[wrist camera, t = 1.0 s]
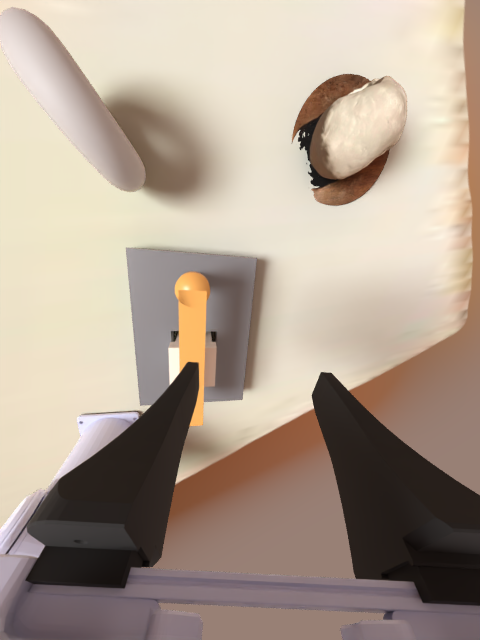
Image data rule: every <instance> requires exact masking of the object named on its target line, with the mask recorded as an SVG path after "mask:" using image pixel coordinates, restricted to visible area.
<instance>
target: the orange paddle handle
mask: <svg viewBox="0 0 480 640" xmlns="http://www.w3.org/2000/svg"><path fill="white" fill-rule="evenodd" d="M175 295H176V297H177V299H178V300H179V366H180V372H181V370H182V369H183V367H184V366H185V364H186V363H187V362H199V392H198V397H197V402H196V406H195V409H194V413H193V416H192V419H191V423H190V426H198V425H203V402H204V368H205V334H206V301H207V300H208V298H209V296H210V286H209V282H208V280H207V278H206V277H205V276H204V275H202V274H201V273H199V272H195V271H190V272H186V273H184V274H183V275H182V276H181V277H180V278H179V279H178V280H177V282H176V285H175Z"/></svg>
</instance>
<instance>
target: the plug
mask: <svg viewBox="0 0 480 640" xmlns="http://www.w3.org/2000/svg"><path fill="white" fill-rule="evenodd" d="M168 350H169V380H170V384H171V383H172V382H173V381H174V380H175V378H176V377H177V376H178V374H179V373H180V366H179V331H178V334H177V338H176V341H175V342H170V345H169V348H168ZM216 352H217V346H216V342H212V338H211V331H206V334H205V368H204V387H213V386H215V372H216Z"/></svg>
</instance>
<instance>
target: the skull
mask: <svg viewBox="0 0 480 640" xmlns="http://www.w3.org/2000/svg"><path fill="white" fill-rule="evenodd" d="M406 116H407V96H406V93H405V91H404V89H403V88H402V86H401V85H400V84H399V83H397V82H396V81H395V80H394V79H393V78H391V77H390V76H385V77H383V78H381V79H373V80H372V81H369V80H368V79H366V78H365V77H362V76H360V75H354V74H353V75H352V74H343V75H339V76H336V77H333V78H331V79H329V80H327V81H325V82H324V83H322V84H321V85H320V86H318V87H317V88H316V90H314V91H313V93H312V94H311V95H310V96H309V97H308V99H307V100H306V102H305V103H304V105H303V107H302V109H301V111H300V113H299V115H298V118H297V121H296V124H295V127H294V131H293V137H292V142H293V139H294V137H295V135H296V133H297V131H299V130H301V131H300V132H299V135H300V137H298V142H300V141H301V144H300V145H301V147H300V148H302V149H303V147H304V146H305V150H306V151H307V155H308V160H309V161H310V163H311V164H310V165H309V166H310V168H311V171H312V172H311V173H309V172H308V174H310V176H312V178H313V181H312V179H311V184H313V185H314V186H319V188H314V189H312V191H314V193H315V194H314V198H316V199H317V200H316V199H315V200H316V201H318V202H320V203H323V204H326V205H343V204H346V203H349V202H352V201H354V200H356V199H357V198H359V197H360V196H362V195H363V194H364V193H365V192H366V191H367V190H369V188H370V187H371V186H372V185H373V184H374V183H375V181H376V180H377V179H378V177H379V175H380V173H381V171H382V170H383V168H384V165H385V163H386V161H387V158H388V154H389V149H390V148H392V147H393V146H394V145H395V144H396V143H397V141H398V140H399V139H400V137H401V134H402V132H403V129H404V126H405V122H406ZM301 132H302V133H301ZM304 132H305V137H304V136H303V138H302V135H303V133H304ZM308 134H309V135H308ZM300 150H301V149H300ZM306 164H307V163H306Z"/></svg>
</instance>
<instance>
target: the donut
mask: <svg viewBox="0 0 480 640" xmlns="http://www.w3.org/2000/svg"><path fill="white" fill-rule="evenodd" d="M0 44H1V48H2V51H3V53H4V55H5V56H6V58H7V60H8V62H9V64H10V66H11V67H12V69H13V70H14V72H15V73H16V75H17V76H18V78H19V79H20V80H21V82H22V83H23V84H24V86H25V87H26V88H27V89H28V91H29V92H30V93H31V95H32V96H33V97H34V99H35V100H36V101H37V102H38V104H39V105H40V106H41V107H42V109H43V110H44V111H45V112H46V114H47V115H48V116H49V117H50V118H51V120H52V121H53V122H54V123H55V125H56V126H57V127H58V128H59V129H60V130H61V132H62V133H63V134H64V135H65V136H66V137H67V138H68V140H69V141H70V142H71V143H72V144H73V145H74V146H75V148H76V149H77V150H78V151H79V152H80V153H81V154H82V155H83V156H84V157H85V159H86V160H87V161H88V162H89V163H90V164H91V165H92V166H93V167H94V168H95V169H96V170H97V171H98V172H99V173H100V174H101V175H102V176H103V177H104V178H105V179H106V180H107V181H108V182H109V183H111V184H112V185H113V186H115V187H117V188H119V189H120V190H123V191H126V192H135V191H137V190H139V189H140V188H141V187H142V186H143V185H144V182H145V179H146V172H145V168H144V164H143V163H142V161H141V159H140V157H139V155H138V154H137V152H136V151H135V149H134V147H133V146H132V144H131V143H130V141H129V140H128V138H127V137H126V135H125V134H124V132H123V131H122V129H121V128H120V126H119V125H118V123H117V122H116V120H115V119H114V117H113V116H112V114H111V113H110V111H109V110H108V109H107V107H106V106H105V104H104V103H103V101H102V100H101V98H100V97H99V95H98V94H97V92H96V91H95V89H94V88H93V87H92V85H91V84H90V82H89V81H88V79H87V78H86V76H85V75H84V73H83V72H82V71H81V69H80V68H79V66H78V65H77V63H76V62H75V61H74V59H73V58H72V56H71V55H70V53H69V52H68V51H67V49H66V48H65V46H64V45H63V44H62V42H61V41H60V40H59V39H58V37H57V36H56V35H55V34H54V32H53V31H52V30H51V29H50V28H49V26H47V25H46V24H45V23H44V22H43V21H42V20H41V19H39V18H38V17H37V16H35V15H34V14H32V13H30V12H28V11H26V10H24V9H19V8H14V7H12V8H9V9H6V10H3V12H2V14H1V15H0Z"/></svg>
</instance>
